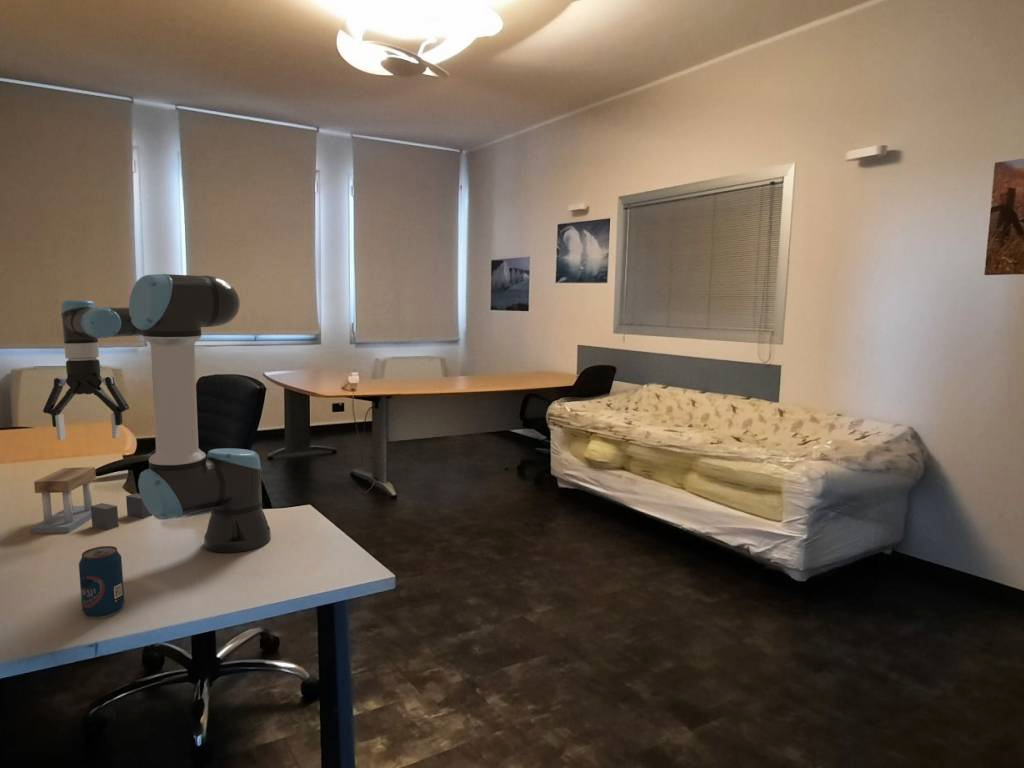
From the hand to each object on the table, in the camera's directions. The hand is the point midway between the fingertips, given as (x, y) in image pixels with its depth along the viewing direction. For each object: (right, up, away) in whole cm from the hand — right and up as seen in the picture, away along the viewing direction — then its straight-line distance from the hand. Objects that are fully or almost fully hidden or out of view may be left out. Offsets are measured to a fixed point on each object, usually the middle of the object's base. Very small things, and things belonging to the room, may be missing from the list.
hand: (89, 438), depth 180 cm
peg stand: (-5, -22, 0) cm, 23 cm away
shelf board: (-5, -12, -1) cm, 13 cm away
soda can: (+35, -29, -51) cm, 69 cm away
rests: (+9, -22, +1) cm, 24 cm away
